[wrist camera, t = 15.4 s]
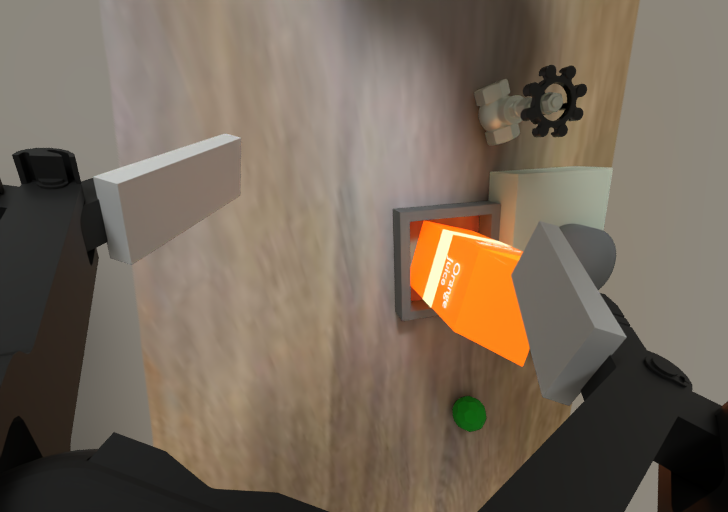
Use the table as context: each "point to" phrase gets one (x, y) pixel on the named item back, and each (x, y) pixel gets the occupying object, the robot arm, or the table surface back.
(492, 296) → the orange juice
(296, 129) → the table surface
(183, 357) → the table surface
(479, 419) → the polyhedron
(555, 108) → the valve
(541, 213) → the grey boxy fixture
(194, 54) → the table surface
